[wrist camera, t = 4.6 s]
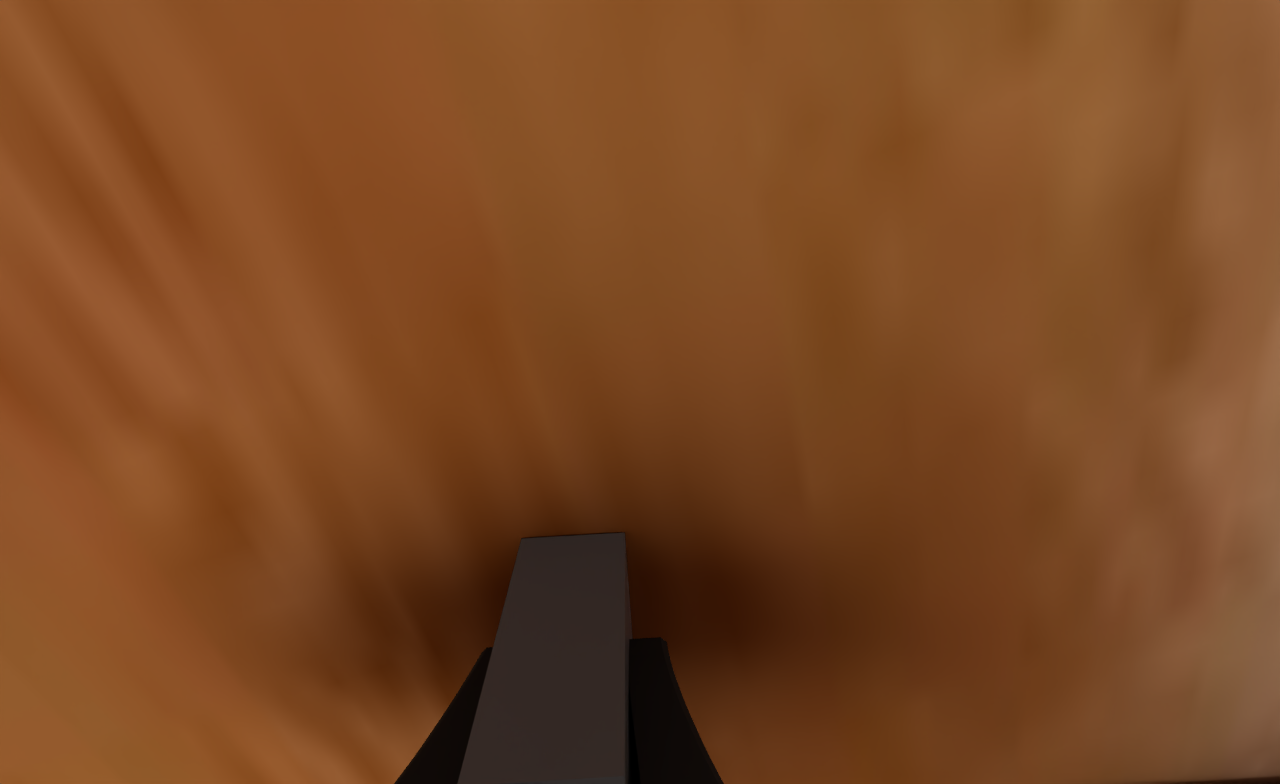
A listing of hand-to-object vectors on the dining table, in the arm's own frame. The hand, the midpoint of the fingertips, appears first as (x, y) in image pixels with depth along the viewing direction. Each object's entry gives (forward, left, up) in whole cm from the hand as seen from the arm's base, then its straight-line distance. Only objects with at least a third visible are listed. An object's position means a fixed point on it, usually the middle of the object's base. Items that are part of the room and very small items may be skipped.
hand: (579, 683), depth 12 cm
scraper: (0, +8, -1) cm, 8 cm away
